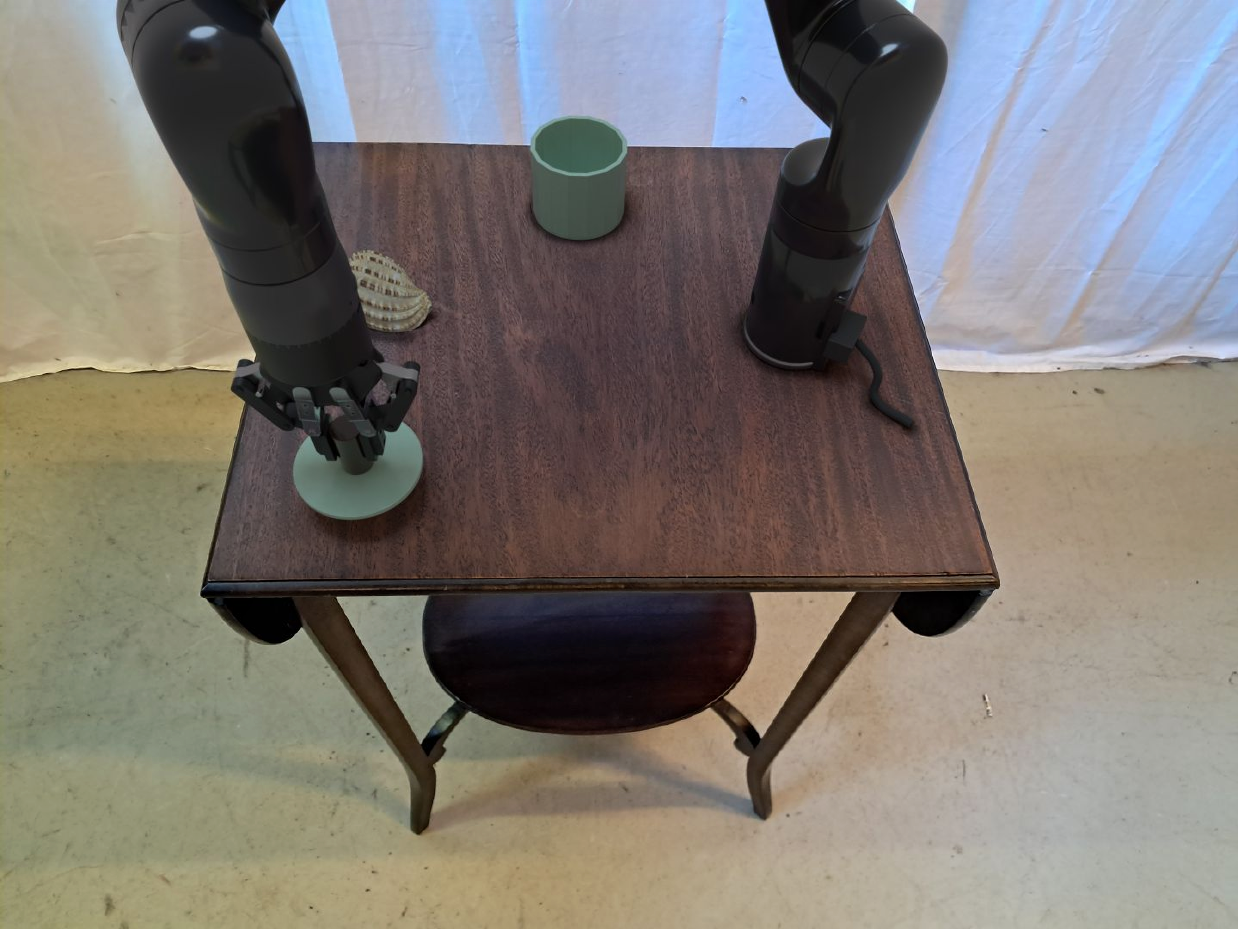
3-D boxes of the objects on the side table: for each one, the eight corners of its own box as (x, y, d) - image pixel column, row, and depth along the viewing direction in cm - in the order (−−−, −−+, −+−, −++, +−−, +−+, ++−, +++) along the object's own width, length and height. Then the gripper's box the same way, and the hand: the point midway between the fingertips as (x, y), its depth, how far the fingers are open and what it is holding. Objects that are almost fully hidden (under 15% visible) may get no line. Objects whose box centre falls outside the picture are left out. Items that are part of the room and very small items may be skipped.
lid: (430, 420, 76) (420, 376, 71) (417, 524, 70) (405, 484, 65) (308, 419, 76) (290, 374, 71) (285, 523, 70) (262, 483, 65)
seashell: (431, 304, 93) (338, 262, 90) (449, 268, 88) (352, 223, 85) (411, 358, 89) (313, 317, 85) (429, 324, 84) (326, 279, 81)
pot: (622, 181, 101) (626, 116, 94) (624, 241, 96) (628, 176, 89) (535, 179, 101) (532, 114, 94) (531, 239, 95) (528, 174, 88)
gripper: (171, 340, 54) (256, 491, 68) (399, 343, 55) (437, 492, 69) (201, 256, 58) (276, 414, 73) (413, 259, 59) (446, 415, 73)
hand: (354, 451), depth 71 cm, fingers closed on lid, 2 cm apart
